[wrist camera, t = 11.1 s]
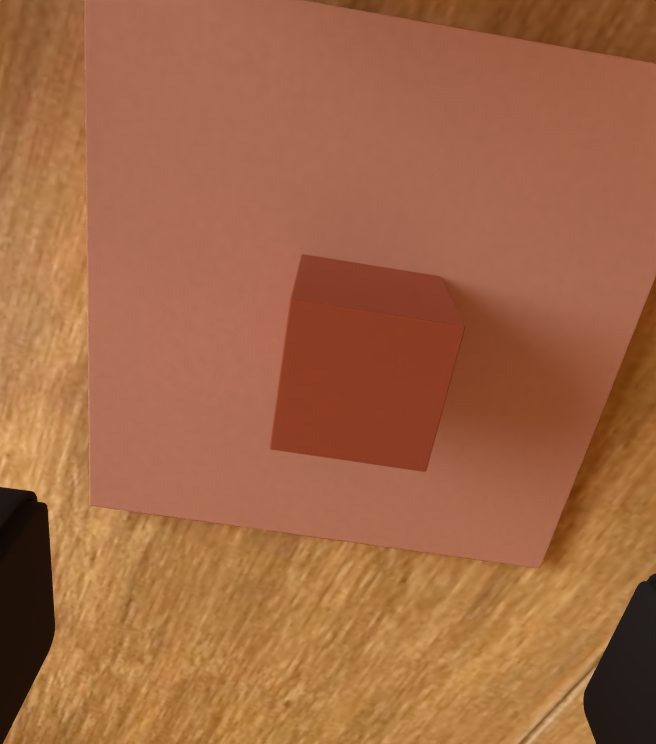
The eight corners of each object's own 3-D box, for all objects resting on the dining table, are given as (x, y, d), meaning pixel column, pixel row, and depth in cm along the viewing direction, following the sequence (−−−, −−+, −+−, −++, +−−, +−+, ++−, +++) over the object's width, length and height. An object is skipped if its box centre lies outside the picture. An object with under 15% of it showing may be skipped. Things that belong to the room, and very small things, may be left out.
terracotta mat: (92, -36, 19) (82, -40, 18) (721, 77, 20) (736, 77, 19) (95, 494, 27) (89, 506, 26) (535, 556, 28) (540, 569, 27)
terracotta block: (301, 253, 22) (289, 298, 17) (440, 276, 22) (466, 326, 17) (283, 380, 24) (269, 450, 19) (410, 399, 24) (426, 473, 19)
